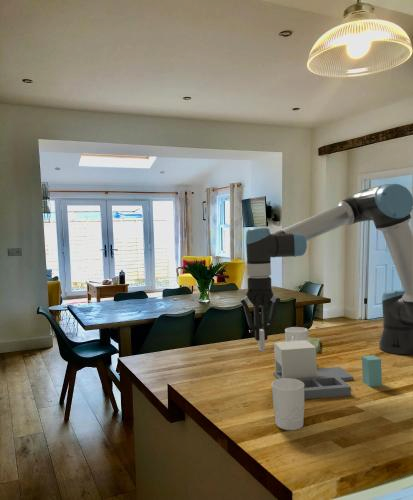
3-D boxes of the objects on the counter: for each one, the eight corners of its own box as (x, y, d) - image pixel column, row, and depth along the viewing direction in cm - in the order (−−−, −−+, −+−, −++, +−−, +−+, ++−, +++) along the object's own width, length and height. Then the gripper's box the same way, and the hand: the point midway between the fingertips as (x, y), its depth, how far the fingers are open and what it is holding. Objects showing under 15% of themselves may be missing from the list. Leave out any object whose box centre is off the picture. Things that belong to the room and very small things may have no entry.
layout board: (339, 369, 133) (339, 355, 133) (353, 380, 123) (352, 364, 123) (273, 374, 131) (272, 360, 131) (281, 385, 121) (281, 369, 121)
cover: (307, 368, 131) (306, 340, 131) (317, 377, 122) (316, 347, 122) (275, 371, 130) (274, 342, 130) (282, 380, 121) (281, 349, 121)
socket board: (336, 382, 121) (336, 374, 121) (351, 395, 111) (350, 386, 111) (286, 386, 120) (285, 378, 120) (296, 399, 110) (296, 391, 110)
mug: (302, 369, 134) (301, 335, 134) (279, 366, 139) (277, 333, 139) (312, 360, 144) (311, 327, 144) (290, 357, 149) (289, 326, 149)
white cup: (269, 418, 100) (268, 379, 99) (299, 415, 100) (298, 377, 100) (278, 433, 92) (276, 391, 92) (310, 430, 92) (309, 388, 92)
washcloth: (321, 342, 169) (321, 335, 169) (320, 354, 152) (320, 346, 152) (290, 341, 173) (290, 334, 173) (286, 353, 156) (286, 345, 156)
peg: (375, 380, 121) (374, 355, 121) (382, 385, 117) (381, 359, 117) (362, 381, 121) (361, 356, 121) (369, 386, 117) (368, 360, 117)
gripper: (276, 274, 129) (278, 345, 129) (237, 276, 128) (239, 348, 128) (282, 276, 121) (284, 352, 122) (241, 278, 120) (243, 354, 121)
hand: (261, 350), depth 125 cm, fingers closed
